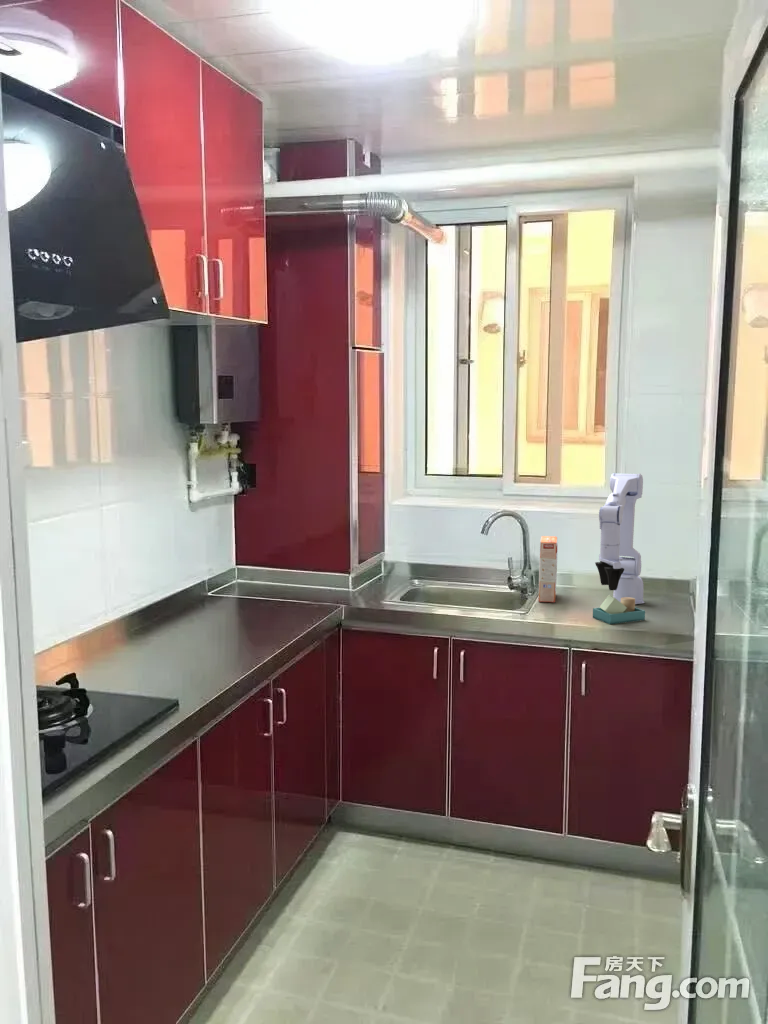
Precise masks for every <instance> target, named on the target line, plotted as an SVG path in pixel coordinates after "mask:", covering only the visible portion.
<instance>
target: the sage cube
mask: <svg viewBox="0 0 768 1024" xmlns="http://www.w3.org/2000/svg"><path fill="white" fill-rule="evenodd" d="M599 608H601V609H602V610H604V611H605V612H606V613H609V614H617V613H623V612H624V611H625V610H626V608H627V607H626V606H624V605H623V604H622V603H621V602H619V601H618V600H617V599H616V598H614V597H613V595H611V594H608V595H607V596H606V598H605V599H604V601H602V603H601V604H600V606H599Z"/></svg>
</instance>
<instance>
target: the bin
mask: <svg viewBox="0 0 768 1024" xmlns="http://www.w3.org/2000/svg"><path fill="white" fill-rule="evenodd" d="M592 618H593V619H595V620H598V621H600V622H602V623H605V624H608V625H615V624H624V623H625V622H626V623H631V622H633V621H634V622H641V621H640V620H642V621H645V620H646V610H645V609H641V608H638V607H635V611H634V612H625V613H617V614H609V613H606V612H605V611H604V610H602V609H601V608H600V607H595V608H594V607H593V608H592ZM634 622H633V623H634ZM626 623H625V624H626Z"/></svg>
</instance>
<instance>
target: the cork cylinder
mask: <svg viewBox="0 0 768 1024" xmlns="http://www.w3.org/2000/svg"><path fill="white" fill-rule="evenodd" d="M621 603H622V604H623V605H624V606H626V607H627V608H626V610H625V611H624V612H623V613H625V612H634V611H635V608H636V604H635V598H631V597H623V598H621Z"/></svg>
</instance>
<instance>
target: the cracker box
mask: <svg viewBox="0 0 768 1024" xmlns="http://www.w3.org/2000/svg"><path fill="white" fill-rule="evenodd" d="M538 567H539V568H538V570H539V571H538V573H539V574H538V602H539V603H556V596H557V593H556V592H557V578H558V577H557V576H558V574H557V573H558V572H557V571H558V537H557V536H554V535H552V536H551V535H542V536H541V537H540V543H539V565H538Z"/></svg>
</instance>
